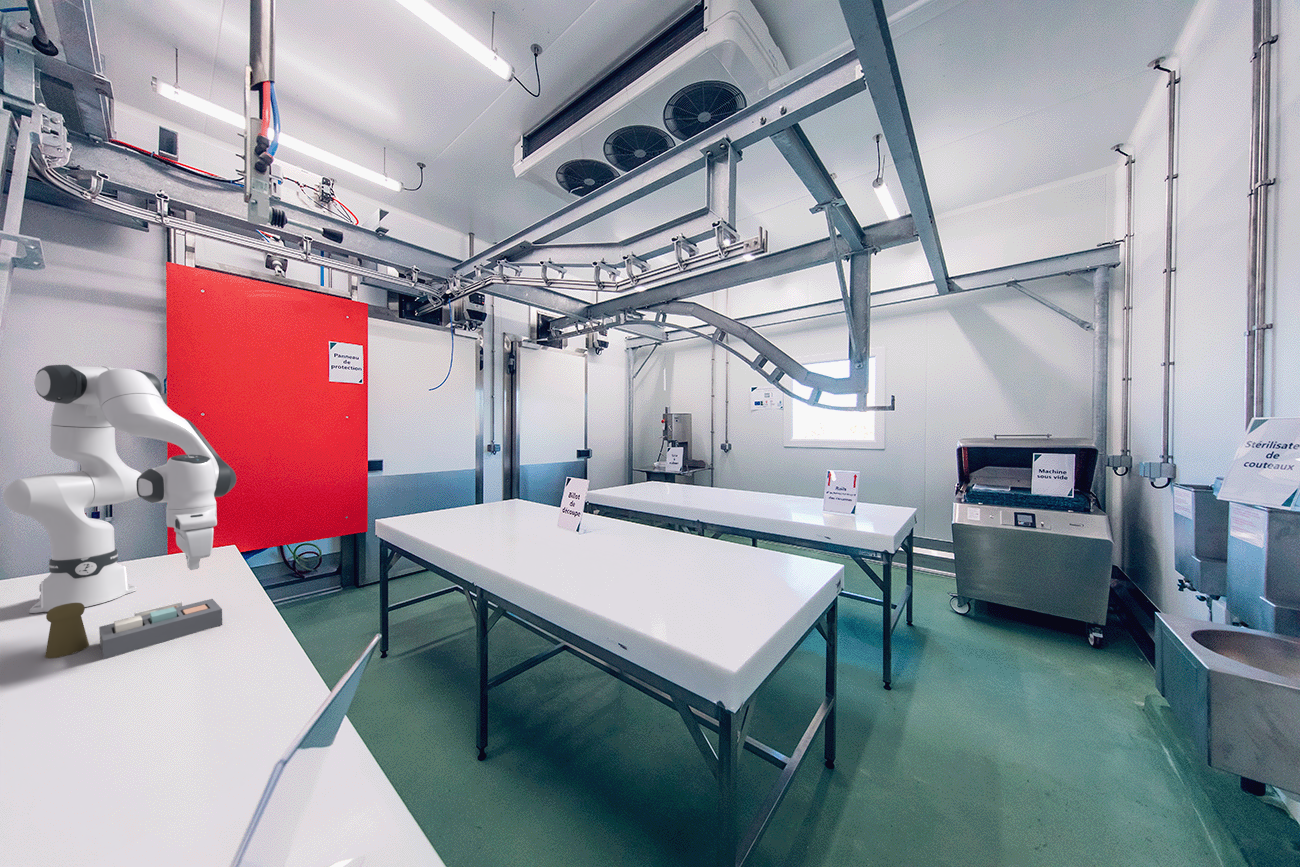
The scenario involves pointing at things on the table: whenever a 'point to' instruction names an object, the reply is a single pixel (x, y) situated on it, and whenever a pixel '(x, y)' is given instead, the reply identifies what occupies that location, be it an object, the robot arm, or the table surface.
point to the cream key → (128, 623)
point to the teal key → (162, 615)
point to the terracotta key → (194, 609)
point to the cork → (66, 630)
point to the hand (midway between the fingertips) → (193, 568)
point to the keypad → (159, 628)
